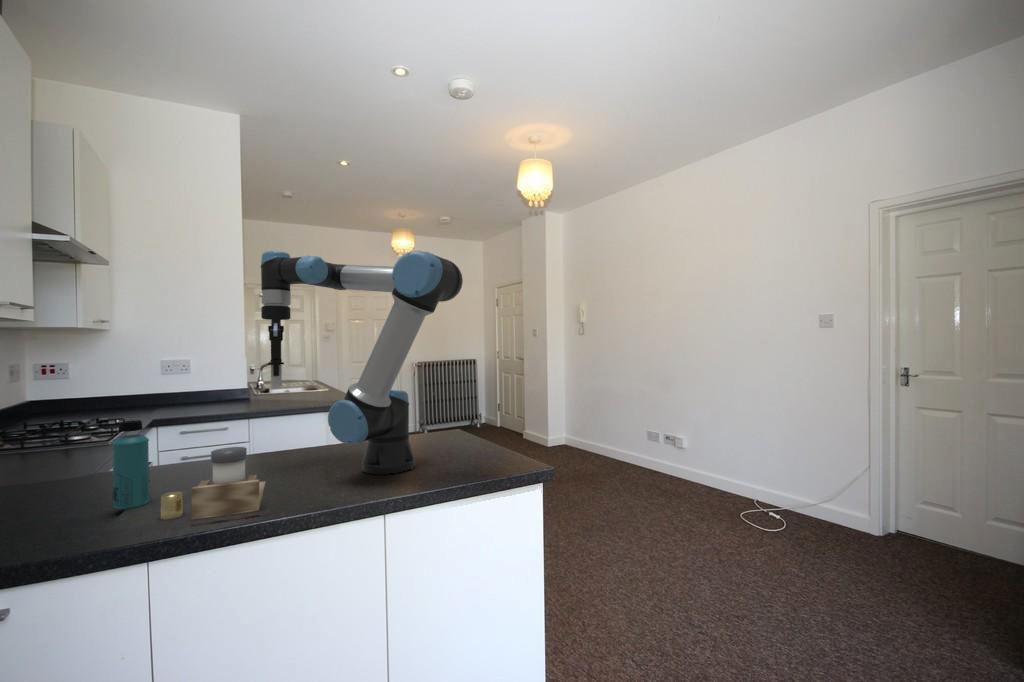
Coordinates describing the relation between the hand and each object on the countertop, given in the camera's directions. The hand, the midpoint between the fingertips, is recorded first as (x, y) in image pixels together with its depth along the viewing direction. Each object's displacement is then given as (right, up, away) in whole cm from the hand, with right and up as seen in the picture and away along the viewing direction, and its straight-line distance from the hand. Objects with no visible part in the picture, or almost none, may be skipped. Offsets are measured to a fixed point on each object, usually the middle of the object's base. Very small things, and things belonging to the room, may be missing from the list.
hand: (276, 387), depth 136 cm
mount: (+4, -24, -28) cm, 37 cm away
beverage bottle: (-16, -24, -32) cm, 43 cm away
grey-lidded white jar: (+7, -23, -34) cm, 41 cm away
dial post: (-2, -24, -40) cm, 46 cm away
